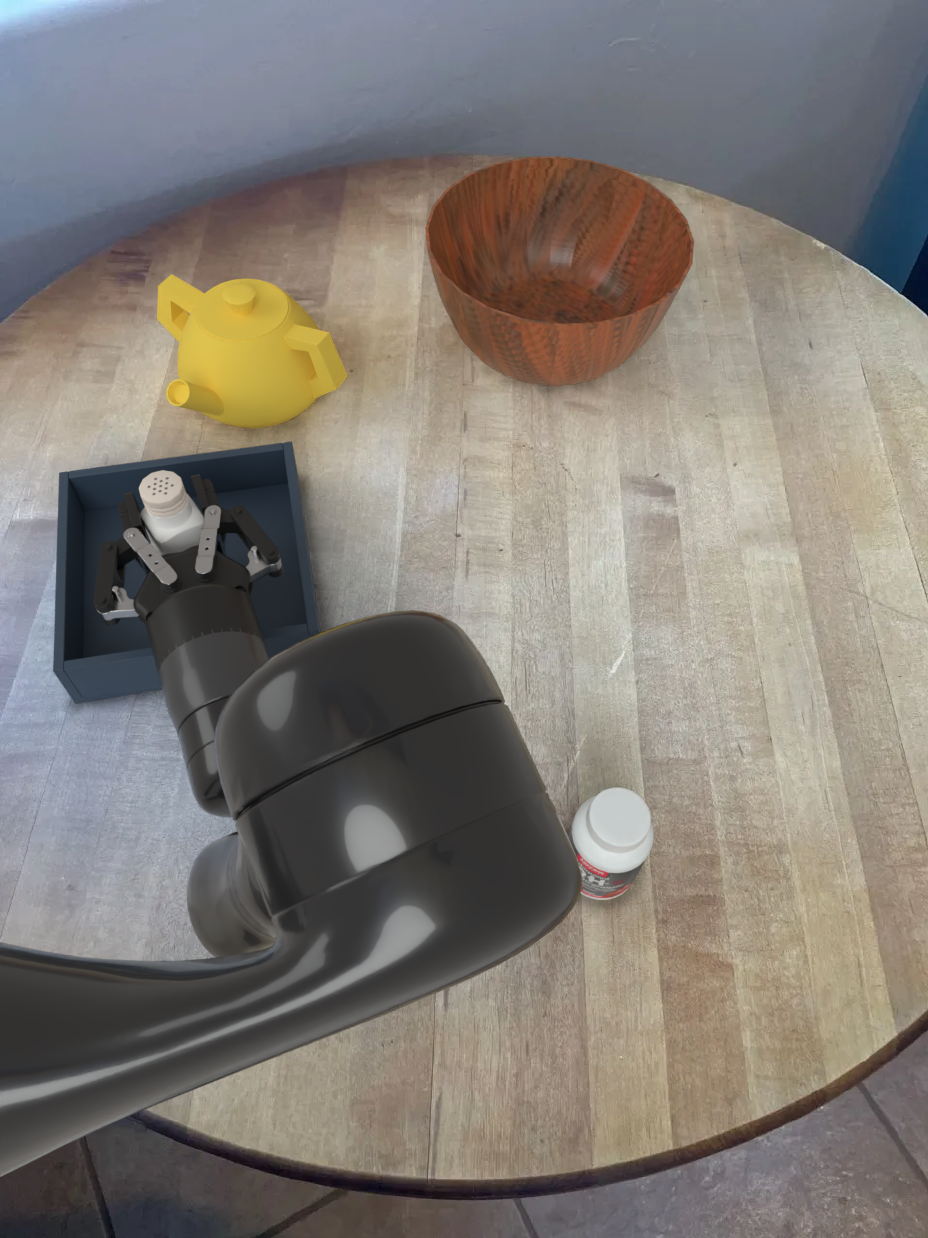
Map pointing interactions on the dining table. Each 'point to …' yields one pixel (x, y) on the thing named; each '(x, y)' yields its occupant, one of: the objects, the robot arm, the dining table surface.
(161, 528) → the salt shaker
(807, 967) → the dining table surface
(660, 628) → the dining table surface
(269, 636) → the tray
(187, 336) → the teapot
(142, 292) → the dining table surface
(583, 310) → the bowl
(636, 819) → the pill bottle
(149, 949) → the dining table surface
